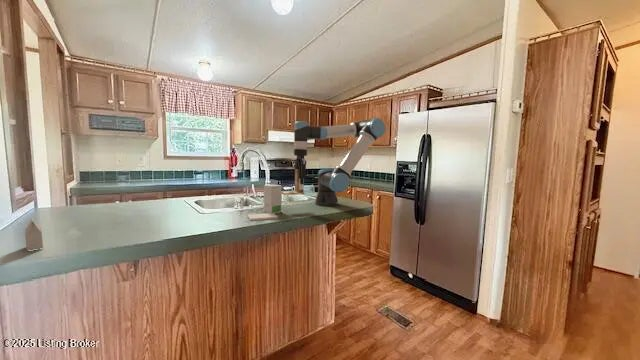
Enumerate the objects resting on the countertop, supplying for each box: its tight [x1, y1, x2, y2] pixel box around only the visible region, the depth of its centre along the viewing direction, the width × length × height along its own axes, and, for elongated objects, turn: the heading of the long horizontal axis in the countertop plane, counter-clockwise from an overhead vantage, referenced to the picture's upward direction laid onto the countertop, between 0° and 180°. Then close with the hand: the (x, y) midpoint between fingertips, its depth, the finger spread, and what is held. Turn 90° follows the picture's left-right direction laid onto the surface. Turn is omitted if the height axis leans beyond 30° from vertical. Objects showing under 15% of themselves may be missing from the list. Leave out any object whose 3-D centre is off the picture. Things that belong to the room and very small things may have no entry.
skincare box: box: [263, 184, 283, 214], centre depth 154 cm, size 8×7×16 cm
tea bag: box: [24, 217, 44, 251], centre depth 93 cm, size 4×7×10 cm, turn 48°
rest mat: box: [246, 213, 279, 222], centre depth 142 cm, size 14×9×1 cm, turn 114°
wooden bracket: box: [282, 168, 305, 196], centre depth 157 cm, size 12×6×14 cm, turn 114°
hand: (299, 189), depth 160 cm, fingers closed on wooden bracket, 4 cm apart
